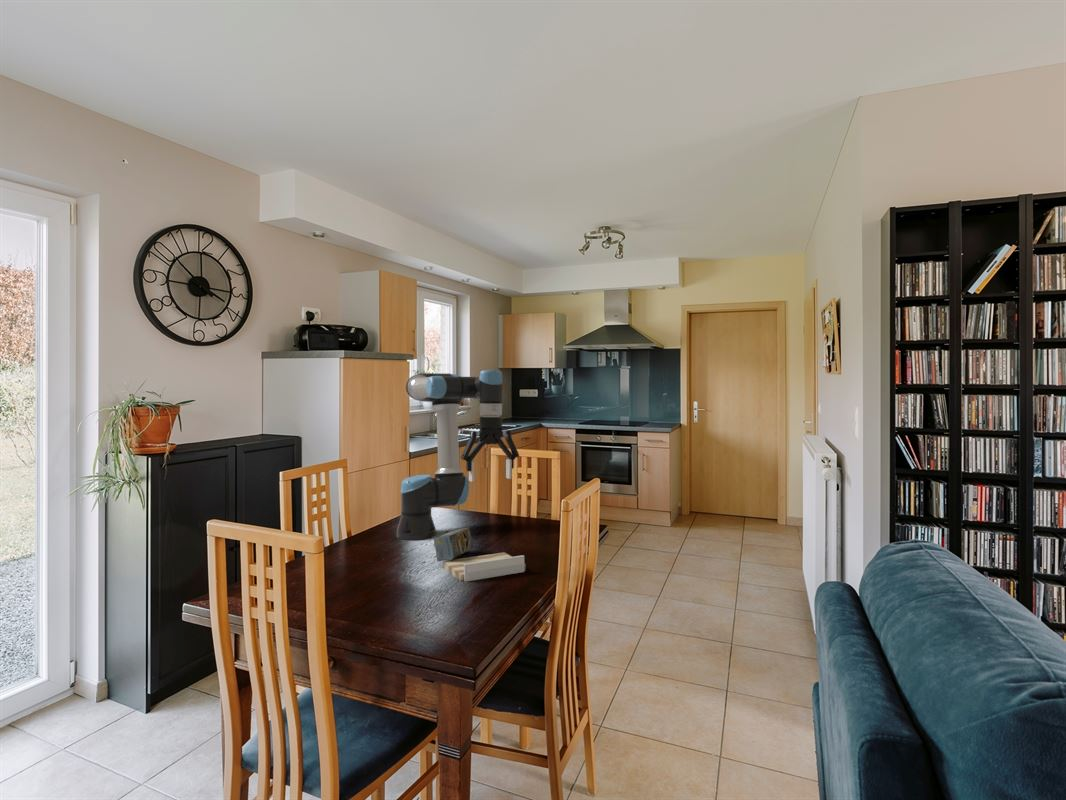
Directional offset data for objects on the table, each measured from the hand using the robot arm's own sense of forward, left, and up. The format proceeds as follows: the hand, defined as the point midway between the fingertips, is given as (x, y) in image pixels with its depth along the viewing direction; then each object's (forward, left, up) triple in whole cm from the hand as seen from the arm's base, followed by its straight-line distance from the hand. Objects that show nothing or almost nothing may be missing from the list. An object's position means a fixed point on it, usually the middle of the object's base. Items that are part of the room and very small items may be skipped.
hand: (490, 479), depth 184 cm
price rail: (+14, -5, -28) cm, 31 cm away
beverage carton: (-14, -2, -28) cm, 32 cm away
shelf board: (+5, -5, -28) cm, 29 cm away
